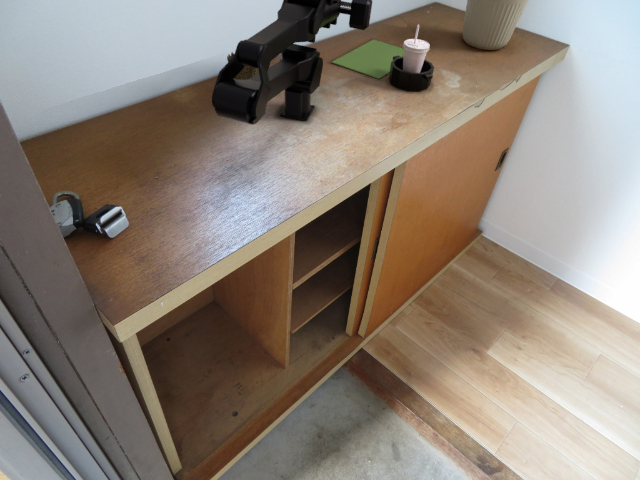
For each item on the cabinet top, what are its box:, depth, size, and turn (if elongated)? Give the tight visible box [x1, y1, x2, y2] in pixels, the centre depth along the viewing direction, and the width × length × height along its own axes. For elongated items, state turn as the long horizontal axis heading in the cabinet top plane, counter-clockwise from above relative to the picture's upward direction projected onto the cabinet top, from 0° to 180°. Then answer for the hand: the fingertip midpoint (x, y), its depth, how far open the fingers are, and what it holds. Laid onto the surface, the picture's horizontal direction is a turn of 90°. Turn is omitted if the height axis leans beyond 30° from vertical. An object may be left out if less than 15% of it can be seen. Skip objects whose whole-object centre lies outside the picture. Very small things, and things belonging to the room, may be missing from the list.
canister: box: [462, 0, 529, 51], centre depth 127 cm, size 18×18×21 cm
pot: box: [388, 55, 435, 92], centre depth 111 cm, size 10×13×4 cm
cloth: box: [331, 39, 404, 80], centre depth 123 cm, size 22×15×1 cm
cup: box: [226, 51, 259, 80], centre depth 103 cm, size 8×7×8 cm
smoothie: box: [402, 24, 431, 73], centre depth 108 cm, size 6×6×14 cm
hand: (342, 1), depth 105 cm, fingers open, 9 cm apart
